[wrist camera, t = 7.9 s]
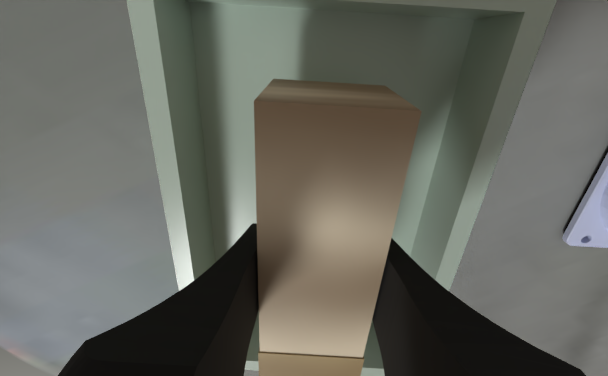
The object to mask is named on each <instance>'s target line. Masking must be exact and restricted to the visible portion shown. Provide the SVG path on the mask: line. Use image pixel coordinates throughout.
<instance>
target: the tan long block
mask: <svg viewBox="0 0 608 376" xmlns="http://www.w3.org/2000/svg"><path fill="white" fill-rule="evenodd" d="M421 112H422V111H421V110H419V109H418V108H416V107H415V106H414V105H412V104H411V103H409V102H408V101H406V100H405V99H404V98H402V97H401V96H399V95H398V94H396V93H395V92H394V91H392V90H391V89H389V88H388V87H386V86H385V85H369V84H353V83H337V82H320V81H304V80H288V79H273V80H272V81H271V82H270V83H269V84H268V85H267V87H266V88H265V89H264V90H263V91H262V92H261V93H260V94H259V96H258V97H257V98H256V99H255V100H254V131H255V174H256V216H257V258H258V300H259V342H260V346H259V351H258V363H259V376H360V375H361V371H362V367H363V363H364V351H365V347H366V343H367V339H368V334H369V330H370V326H371V322H372V318H373V313H374V309H375V305H376V301H377V297H378V292H379V288H380V284H381V280H382V276H383V271H384V267H385V263H386V259H387V255H388V250H389V246H390V242H391V238H392V234H393V229H394V225H395V221H396V217H397V213H398V208H399V204H400V200H401V196H402V192H403V187H404V183H405V179H406V175H407V171H408V166H409V162H410V158H411V154H412V150H413V145H414V141H415V137H416V133H417V129H418V124H419V120H420V116H421Z"/></svg>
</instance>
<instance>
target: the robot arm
mask: <svg viewBox="0 0 608 376" xmlns="http://www.w3.org/2000/svg"><path fill="white" fill-rule="evenodd" d="M563 240H564V241H565V242H566V243H567V244H569V245H571V246H585V247H602V248H608V153H607V155H606V157H605V159H604V160H603V162H602V164H601V166H600V168H599V170H598V172H597V173H596V175H595V177H594V179H593V181H592V183H591V184H590V186H589V188H588V190H587V192H586V194H585V196H584V197H583V199H582V201H581V203H580V205H579V207H578V209H577V210H576V212H575V214H574V216H573V218H572V220H571V221H570V223H569V225H568V227H567V229H566V231H565V233H564V234H563ZM258 311H259V300H258V258H257V224H255V223H253V224H252V225H250V226H249V228H248V229H247V230H246V231H245V232H244V234H243V235H242V236H241V237H240V238H239V239H238V240H237V241H236V242H235V244H234V245H233V246H232V247H231V248H230V249H229V250H228V251H227V252H226V253H225V254H224V255H223V256H222V257H221V258H220V259H219V260H217V261H216V262H215V263H214V264H213V265H212V266H211V267H210V268H209V269H208V270H206V271H205V272H204V273H203V274H202V275H200V276H199V277H198V278H197V279H195V280H194V281H193V282H191V283H190V284H189V285H187V286H186V287H185V288H183V289H182V290H180V291H179V292H177V293H175V294H174V295H172V296H171V297H169V298H168V299H166V300H165V301H163V302H162V303H160V304H158V305H156V306H155V307H153V308H151V309H150V310H148V311H146V312H144V313H142V314H140V315H139V316H137V317H135V318H133V319H131V320H129V321H127V322H125V323H123V324H121V325H119V326H117V327H115V328H112V329H110V330H108V331H106V332H104V333H102V334H100V335H98V336H95V337H93V338H91V339H89V340H86V341H85V342H84V343H83V344H82V346H81V347H80V348H79V349H78V350H77V351H76V353H75V354H74V355H73V356H72V357H71V359H70V360H69V361H68V363H67V364H66V365H65V367H64V368H63V369H62V371H61V372H60V373H59V375H58V376H244V370H245V364H246V359H247V353H248V348H249V344H250V340H251V336H252V332H253V329H254V325H255V322H256V318H257V314H258ZM372 321H373V325H374V328H375V332H376V336H377V340H378V344H379V348H380V352H381V357H382V361H383V368H384V374H385V376H586V375H585V374H584V373H583V372H582V371H581V370H580V369H578V368H576V367H574V366H572V365H570V364H568V363H566V362H564V361H562V360H560V359H558V358H556V357H554V356H552V355H550V354H548V353H546V352H544V351H542V350H540V349H538V348H536V347H535V346H533V345H531V344H529V343H527V342H526V341H524V340H522V339H520V338H519V337H517V336H515V335H513V334H511V333H510V332H508V331H506V330H505V329H503V328H501V327H500V326H498V325H496V324H495V323H493V322H492V321H490V320H489V319H487V318H486V317H484V316H483V315H481V314H479V313H478V312H476V311H475V310H473V309H472V308H471V307H469V306H468V305H466V304H465V303H464V302H462V301H461V300H460V299H458V298H457V297H456V296H454V295H453V294H452V293H450V292H449V291H448V290H446V289H445V288H444V287H443V286H442V285H440V284H439V283H438V282H437V281H436V280H435V279H433V278H432V277H431V276H430V275H429V274H428V273H427V272H425V271H424V270H423V269H422V268H421V267H420V266H419V265H418V264H417V263H416V262H415V261H414V260H413V259H412V258H411V257H410V256H409V255H408V254H407V253H406V252H405V251H404V250H403V249H402V248H401V247H400V246H399V245H398V244H397V243H396V242H395V241H394V240H393V238H391V242H390V246H389V250H388V255H387V259H386V263H385V267H384V271H383V276H382V280H381V284H380V288H379V292H378V297H377V301H376V305H375V309H374V313H373V318H372Z"/></svg>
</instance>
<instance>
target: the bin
mask: <svg viewBox="0 0 608 376" xmlns="http://www.w3.org/2000/svg"><path fill="white" fill-rule="evenodd" d="M556 1H557V0H127V5H128V11H129V16H130V22H131V27H132V33H133V38H134V44H135V49H136V55H137V60H138V66H139V72H140V77H141V83H142V88H143V94H144V99H145V105H146V110H147V116H148V122H149V127H150V133H151V138H152V144H153V149H154V155H155V160H156V166H157V172H158V177H159V183H160V188H161V194H162V199H163V205H164V210H165V216H166V222H167V227H168V233H169V238H170V244H171V249H172V255H173V260H174V266H175V271H176V277H177V283H178V288H179V291H180V290H182V289H183V288H185V287H186V286H187V285H189V284H190V283H191V282H193V281H194V280H195V279H197V278H198V277H199V276H200V275H202V274H203V273H204V272H205V271H206V270H208V269H209V268H210V267H211V266H212V265H213V264H214V263H215V262H216V261H217V260H219V259H220V258H221V257H222V256H223V255H224V254H225V253H226V252H227V251H228V250H229V249H230V248H231V247H232V246H233V245H234V244H235V242H236V241H237V240H238V239H239V238H240V237H241V236H242V235H243V234H244V232H245V231H246V230H247V229H248V228H249V226H250V225H252V224H253V223H255V224H257V216H256V174H255V131H254V100H255V99H256V98H257V97H258V96H259V94H260V93H261V92H262V91H263V90H264V89H265V88H266V87H267V85H268V84H269V83H270V82H271V81H272V80H273V79H288V80H304V81H320V82H337V83H353V84H369V85H385V86H386V87H388V88H389V89H391V90H392V91H394V92H395V93H396V94H398V95H399V96H401V97H402V98H404V99H405V100H406V101H408V102H409V103H411V104H412V105H414V106H415V107H416V108H418V109H419V110H421V111H422V112H421V116H420V120H419V124H418V129H417V133H416V137H415V141H414V145H413V150H412V154H411V158H410V162H409V166H408V171H407V175H406V179H405V183H404V187H403V192H402V196H401V200H400V204H399V208H398V213H397V217H396V221H395V225H394V229H393V234H392V238H393V240H394V241H395V242H396V243H397V244H398V245H399V246H400V247H401V248H402V249H403V250H404V251H405V252H406V253H407V254H408V255H409V256H410V257H411V258H412V259H413V260H414V261H415V262H416V263H417V264H418V265H419V266H420V267H421V268H422V269H423V270H424V271H425V272H427V273H428V274H429V275H430V276H431V277H432V278H433V279H435V280H436V281H437V282H438V283H439V284H440V285H442V286H443V287H444V288H445V289H446V290H448V291H449V290H450V288H451V285H452V282H453V279H454V277H455V274H456V271H457V269H458V266H459V263H460V261H461V258H462V255H463V252H464V250H465V247H466V244H467V242H468V239H469V236H470V234H471V231H472V228H473V225H474V223H475V220H476V217H477V215H478V212H479V209H480V207H481V204H482V201H483V198H484V196H485V193H486V190H487V188H488V185H489V182H490V180H491V177H492V174H493V171H494V169H495V166H496V163H497V161H498V158H499V155H500V153H501V150H502V147H503V145H504V142H505V139H506V136H507V134H508V131H509V128H510V126H511V123H512V120H513V118H514V115H515V112H516V109H517V107H518V104H519V101H520V99H521V96H522V93H523V91H524V88H525V85H526V82H527V80H528V77H529V74H530V72H531V69H532V66H533V64H534V61H535V58H536V55H537V53H538V50H539V47H540V45H541V42H542V39H543V37H544V34H545V31H546V28H547V26H548V23H549V20H550V18H551V15H552V12H553V10H554V7H555V4H556ZM259 346H260V342H259V311H258V314H257V318H256V322H255V325H254V329H253V332H252V336H251V340H250V344H249V348H248V353H247V359H246V364H245V370H259V363H258V351H259ZM360 376H385V374H384V368H383V361H382V357H381V352H380V348H379V344H378V340H377V336H376V332H375V328H374V325H373V321H372V322H371V326H370V330H369V334H368V339H367V343H366V347H365V351H364V363H363V367H362V371H361V375H360Z"/></svg>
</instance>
